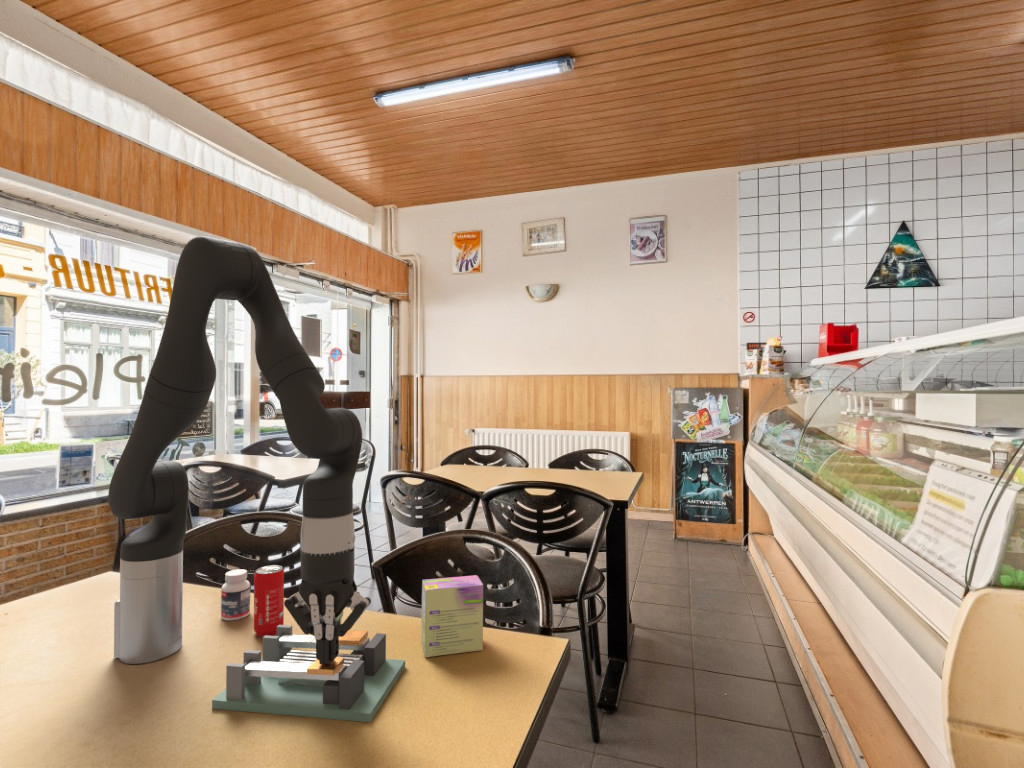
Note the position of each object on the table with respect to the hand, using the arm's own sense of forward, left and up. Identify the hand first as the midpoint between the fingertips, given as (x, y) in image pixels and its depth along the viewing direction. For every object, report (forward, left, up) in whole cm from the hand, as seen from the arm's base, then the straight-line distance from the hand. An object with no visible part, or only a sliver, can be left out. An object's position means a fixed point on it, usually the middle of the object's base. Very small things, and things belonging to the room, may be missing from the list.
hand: (327, 662), depth 79 cm
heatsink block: (-3, +5, -5) cm, 8 cm away
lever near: (-6, 0, -2) cm, 6 cm away
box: (+14, +20, -7) cm, 25 cm away
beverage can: (-22, +21, -7) cm, 31 cm away
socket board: (-4, +5, -6) cm, 9 cm away
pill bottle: (-33, +27, -7) cm, 43 cm away
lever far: (-6, +9, -2) cm, 11 cm away
